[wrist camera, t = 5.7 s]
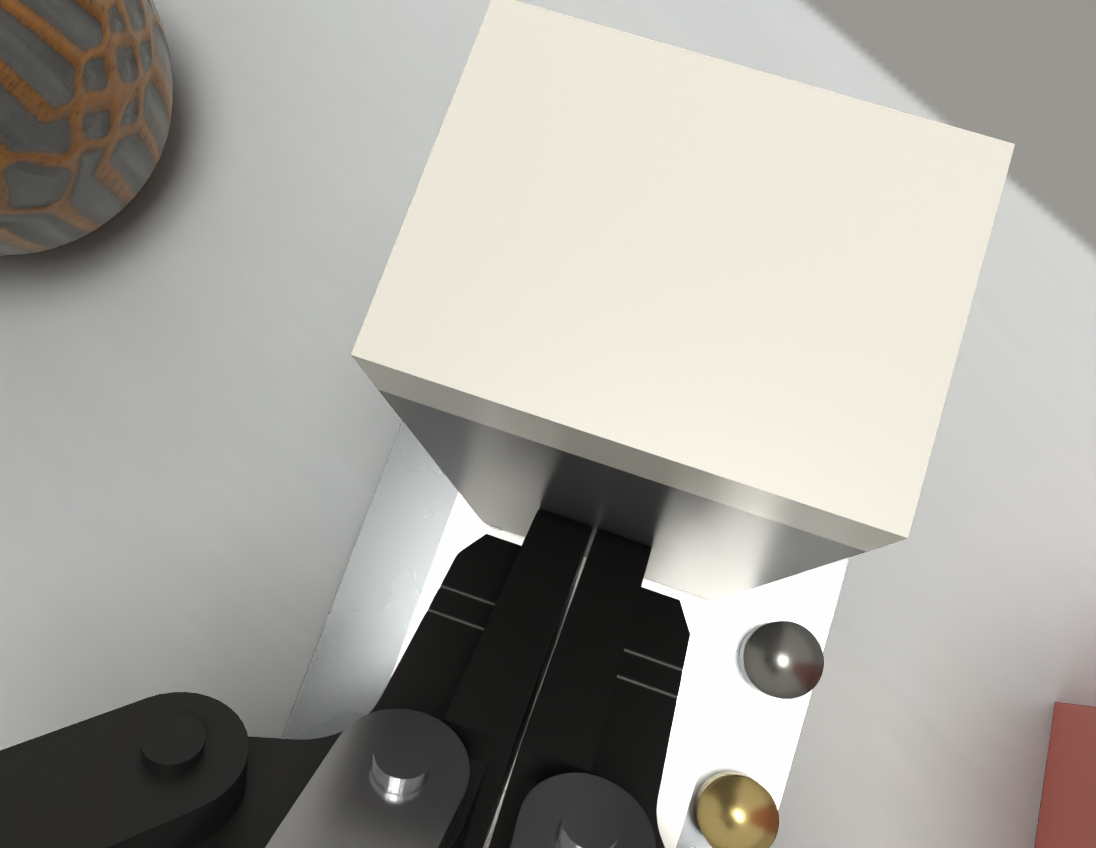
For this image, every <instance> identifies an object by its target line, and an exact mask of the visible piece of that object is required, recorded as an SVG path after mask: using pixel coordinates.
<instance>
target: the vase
mask: <svg viewBox="0 0 1096 848" xmlns="http://www.w3.org/2000/svg"><path fill="white" fill-rule="evenodd" d="M172 100H173V80H172V72H171V64H170V57H169V51H168V47H167V42H166V38H165V35H164V32H163V28H162V25H161V22H160V18H159V15H158V12H157V10H156V7H155V5H154V3H153V0H0V255H20V254H29V253H35V252H41V251H45V250H49V249H53V248H56V247H59V246H62V245H65V244H68V243H70V242H72V241H75V240H77V239H79V238H81V237H83V236H85V235H87V234H89V233H91V232H92V231H94V230H96V229H97V228H99V227H101V226H102V225H103V224H105V223H106V222H108V221H109V220H110V219H112V218H113V217H114V216H115V215H117V214H118V213H119V212H120V211H121V210H122V209H123V208H124V207H126V206H127V205H128V204H129V202H130V201H131V200H132V199H133V198H134V197H135V196H136V195H137V194H138V192H139V191H140V190H141V189H142V187H143V186H144V185H145V183H146V182H147V180H148V179H149V177H150V176H151V174H152V172H153V170H154V169H155V167H156V165H157V163H158V161H159V159H160V157H161V154H162V152H163V149H164V147H165V143H166V140H167V137H168V133H169V128H170V123H171V114H172Z"/></svg>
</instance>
